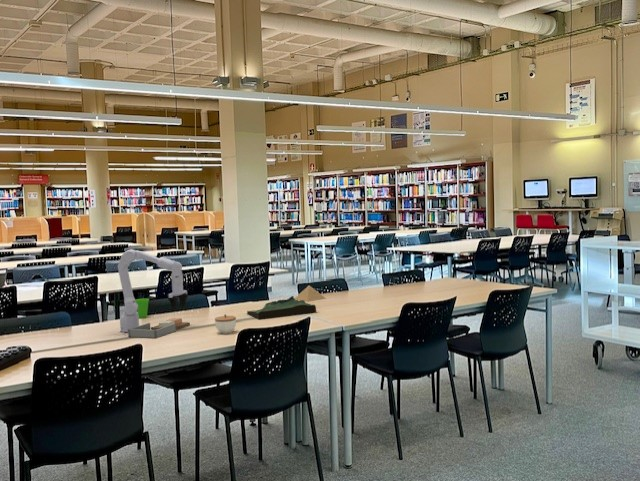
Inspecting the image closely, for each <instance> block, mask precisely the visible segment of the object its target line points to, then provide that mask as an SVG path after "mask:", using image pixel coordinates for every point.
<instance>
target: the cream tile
mask: <svg viewBox="0 0 640 481" xmlns="http://www.w3.org/2000/svg"><path fill="white" fill-rule="evenodd" d="M171 324H175V321H166V320H163V321H160V322H158V325H159V327H166V326H169V325H171Z"/></svg>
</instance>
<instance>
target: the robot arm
mask: <svg viewBox="0 0 640 481" xmlns="http://www.w3.org/2000/svg"><path fill="white" fill-rule="evenodd" d="M120 256H121V257H120V259H119V261H118V264H117V270H118V271H117V272H118V276H119V280H120V285H121V289H122V294H123V300H124V301H123V303H124V307H123V312H124V314H122V315H121V316H120V319H119V325H120V326H119V327H120V330H119V332H120V333H128V329H131V328H134V327H137V326H140V318H139V315H138V312H137V309H138V304H137V303H136V301H135V300H136V298H135V296H134V292H133V287H132V284H131V279H130V275H129V270H128V267H130V265H131V263H132V262H134V261H135V260H136V261H139V260H145V261H147V262H151V263H153V264H156V265H157V267H158V268H160V269H163V270H167V271H171V288H172V289H171V290H172V292H170V293H168V297H167V300H168V301H169V303H170V305H171V308H172V310H173V311H177V310H178V301H179V303H180V304H179V305H180V308H186V302H187V300H188V297H189V294H188V290H186V289H184V285H183V284H184V280H183V279H184V278H183V265H182V263H181V262H179V261H175V260H174V259H172V260H171V259H169V258H167V256H161V257H156V256H154V255H153V254H149V253H146V252H145V251H141V250H136V249H133V248H130V249H128V250H125V252H123V253H122V254H121V255H120Z"/></svg>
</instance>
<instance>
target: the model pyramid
mask: <svg viewBox="0 0 640 481" xmlns="http://www.w3.org/2000/svg"><path fill="white" fill-rule="evenodd" d="M294 299H295V300H298V301H300V300H304V301H305V303H308V302H309V303H310V302H313V301H320V300H326V299H327V298H326V297H325V296H324V295H322V294H321V293H320V292H319V291H317V290H316V289H315V288H313V287H312V286H311V285H308V286H306V288H304V289H303V290H302V291H301V292H300V293H299V294H297V296H295V297H294Z"/></svg>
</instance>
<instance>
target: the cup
mask: <svg viewBox="0 0 640 481" xmlns="http://www.w3.org/2000/svg"><path fill="white" fill-rule="evenodd" d="M135 301H136V303H137V304H138V309H137V312H138V315H139V319H147V317H148V311H149V310H148V309H149V301H150V298H138V299H136V298H135Z"/></svg>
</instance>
